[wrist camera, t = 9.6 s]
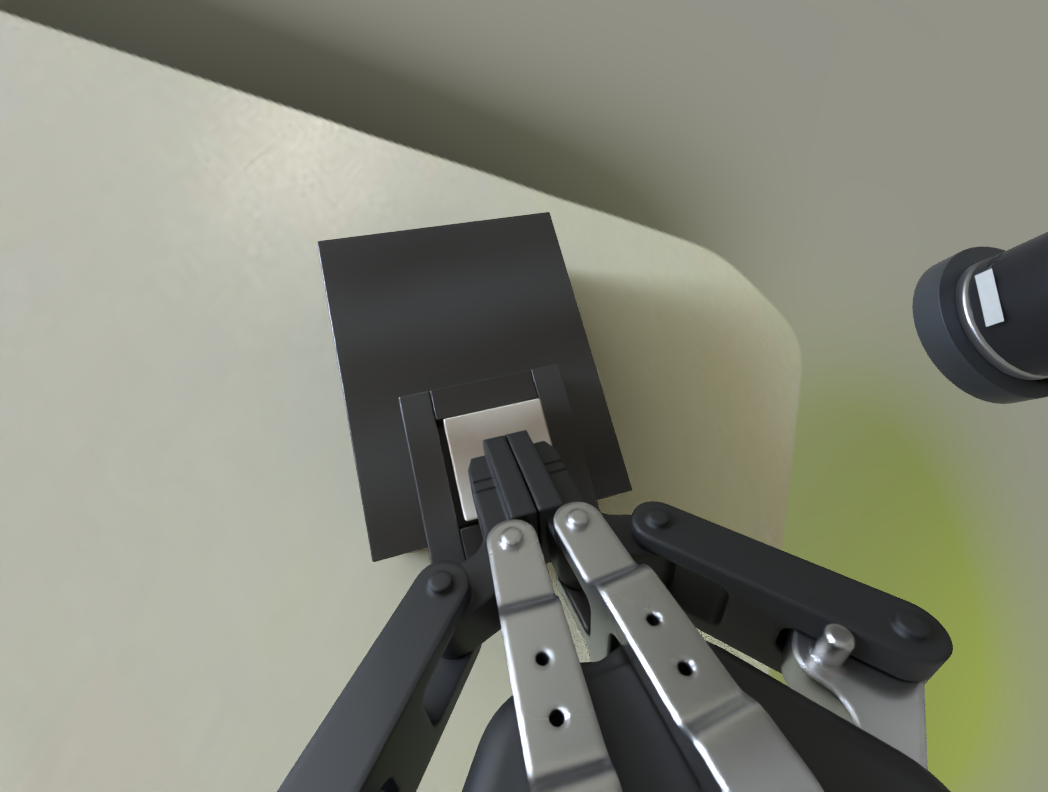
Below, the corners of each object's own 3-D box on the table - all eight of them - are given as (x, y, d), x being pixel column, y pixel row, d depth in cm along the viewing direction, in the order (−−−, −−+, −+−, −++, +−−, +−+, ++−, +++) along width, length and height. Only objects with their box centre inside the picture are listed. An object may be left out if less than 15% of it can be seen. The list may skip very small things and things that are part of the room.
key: (555, 495, 17) (566, 494, 15) (464, 519, 16) (465, 521, 14) (532, 407, 18) (540, 397, 16) (444, 427, 17) (442, 418, 15)
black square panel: (599, 506, 24) (656, 508, 17) (394, 564, 21) (366, 592, 15) (531, 266, 26) (557, 186, 20) (345, 294, 24) (302, 214, 18)
